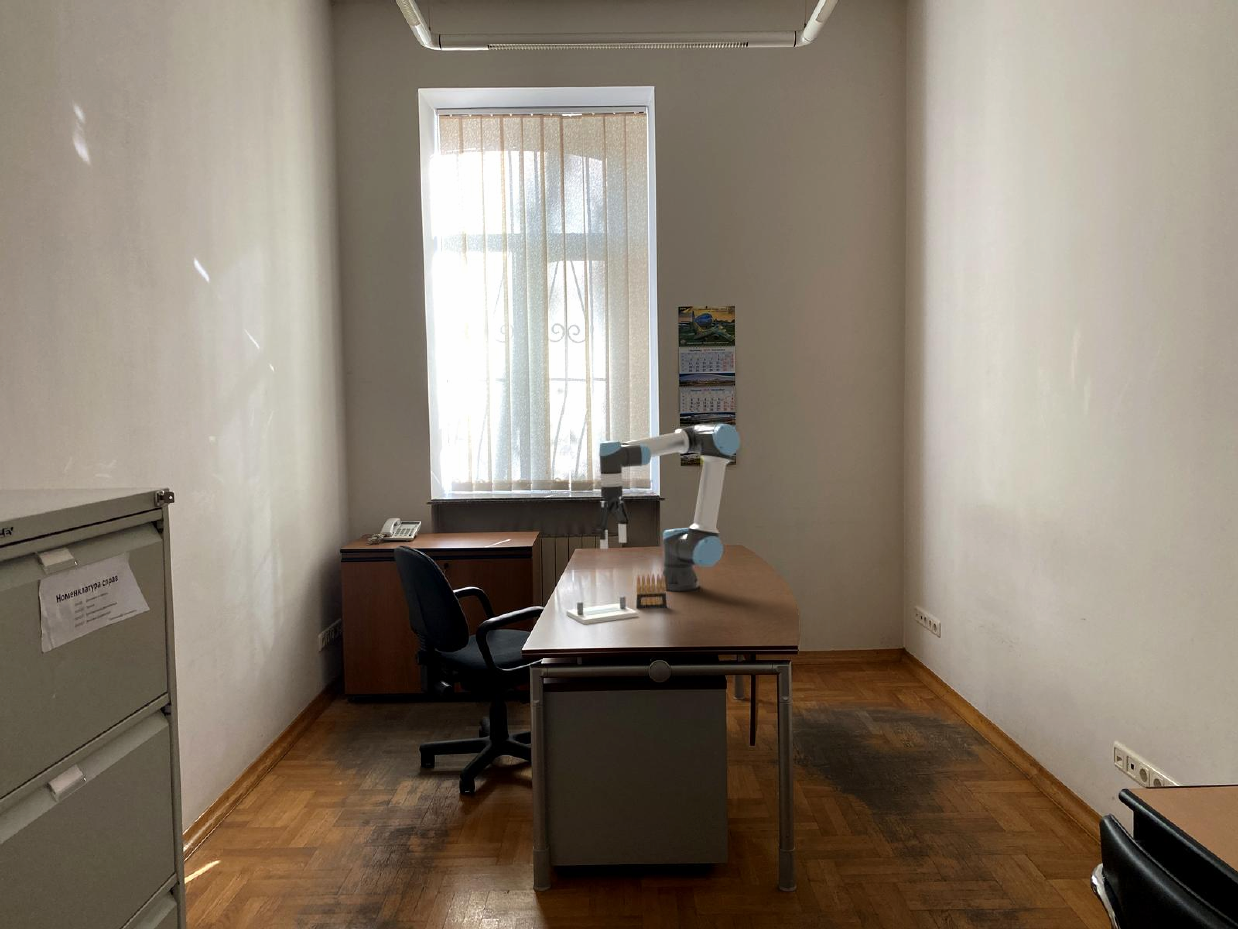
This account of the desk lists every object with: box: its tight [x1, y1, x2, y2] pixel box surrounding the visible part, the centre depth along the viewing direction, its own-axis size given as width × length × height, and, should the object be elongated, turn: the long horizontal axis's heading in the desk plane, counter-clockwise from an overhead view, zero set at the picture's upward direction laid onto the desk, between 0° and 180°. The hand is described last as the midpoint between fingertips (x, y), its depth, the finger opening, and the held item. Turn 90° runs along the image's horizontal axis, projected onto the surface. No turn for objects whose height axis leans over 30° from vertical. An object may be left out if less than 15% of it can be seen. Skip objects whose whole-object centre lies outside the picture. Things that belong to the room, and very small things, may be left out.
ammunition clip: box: [635, 573, 668, 610], centre depth 303 cm, size 11×2×12 cm, turn 94°
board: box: [565, 595, 639, 625], centre depth 293 cm, size 20×15×6 cm
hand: (613, 545), depth 302 cm, fingers open, 13 cm apart
